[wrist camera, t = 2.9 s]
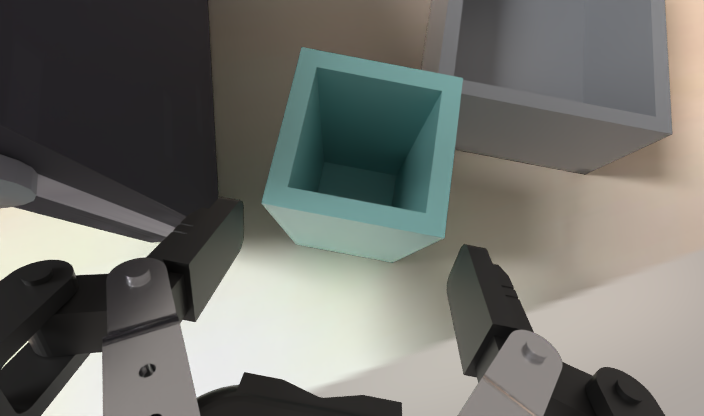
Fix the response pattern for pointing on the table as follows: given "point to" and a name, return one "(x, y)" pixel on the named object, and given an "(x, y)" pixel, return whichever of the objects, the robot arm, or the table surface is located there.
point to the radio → (107, 112)
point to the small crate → (364, 156)
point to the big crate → (554, 77)
